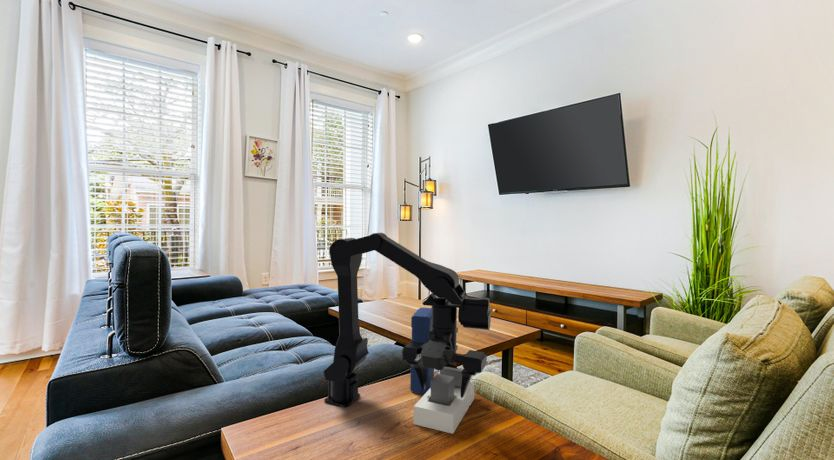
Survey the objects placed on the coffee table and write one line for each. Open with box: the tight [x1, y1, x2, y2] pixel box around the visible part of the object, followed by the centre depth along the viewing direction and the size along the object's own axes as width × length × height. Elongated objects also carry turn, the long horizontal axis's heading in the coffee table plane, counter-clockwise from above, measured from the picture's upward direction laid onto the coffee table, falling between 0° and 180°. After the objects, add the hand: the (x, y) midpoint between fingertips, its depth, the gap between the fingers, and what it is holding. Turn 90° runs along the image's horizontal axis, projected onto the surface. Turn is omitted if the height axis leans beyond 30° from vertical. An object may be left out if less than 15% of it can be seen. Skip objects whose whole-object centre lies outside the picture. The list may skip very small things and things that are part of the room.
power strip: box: [413, 381, 475, 434], centre depth 91 cm, size 9×17×4 cm, turn 157°
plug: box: [430, 373, 454, 406], centre depth 89 cm, size 4×4×8 cm
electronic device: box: [409, 307, 435, 395], centre depth 104 cm, size 10×5×20 cm, turn 168°
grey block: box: [439, 365, 463, 388], centre depth 97 cm, size 6×6×4 cm
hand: (442, 393), depth 89 cm, fingers open, 9 cm apart
